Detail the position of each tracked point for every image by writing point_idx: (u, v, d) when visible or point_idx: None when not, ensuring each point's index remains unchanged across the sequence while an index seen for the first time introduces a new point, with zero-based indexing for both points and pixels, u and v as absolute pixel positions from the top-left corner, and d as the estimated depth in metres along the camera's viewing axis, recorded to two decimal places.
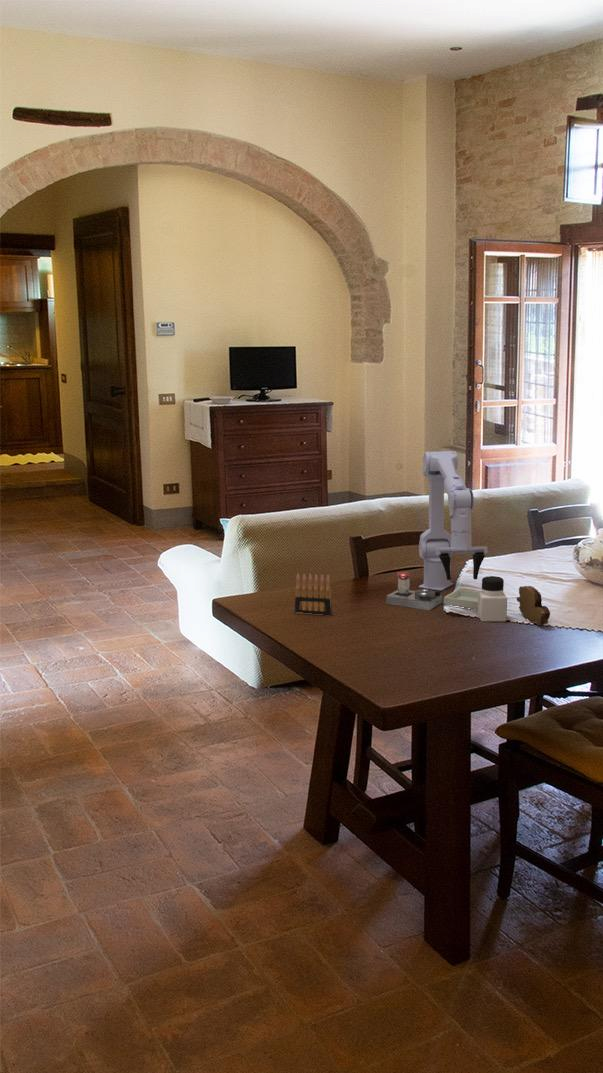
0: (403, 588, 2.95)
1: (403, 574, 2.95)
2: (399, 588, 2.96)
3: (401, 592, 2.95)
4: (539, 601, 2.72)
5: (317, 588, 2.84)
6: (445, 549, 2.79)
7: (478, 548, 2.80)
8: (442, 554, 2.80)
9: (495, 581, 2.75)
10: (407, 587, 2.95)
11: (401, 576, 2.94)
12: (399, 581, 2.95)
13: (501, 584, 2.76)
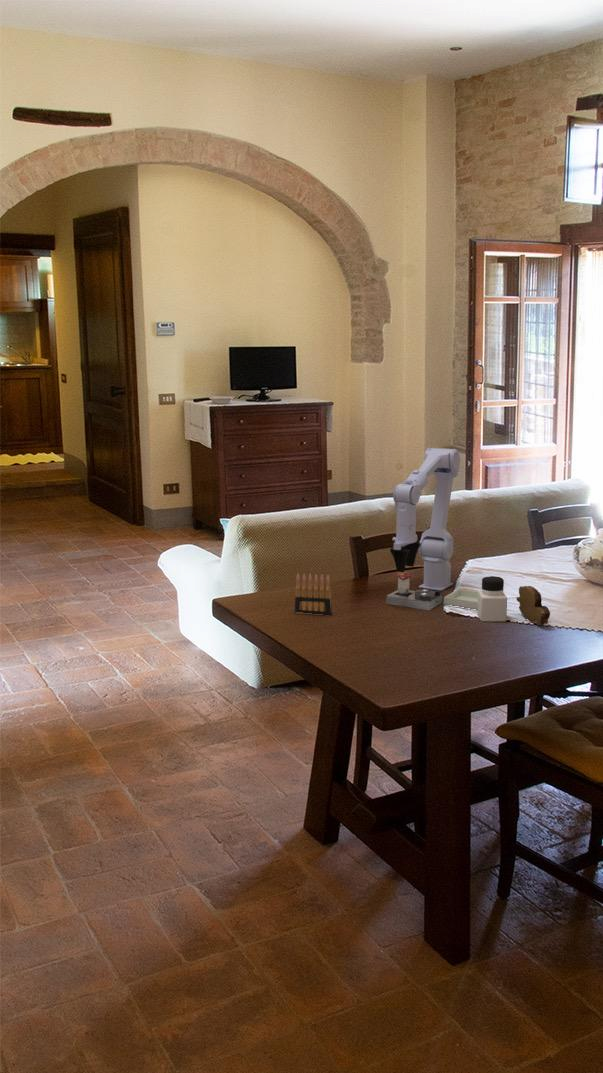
0: (403, 588, 2.95)
1: (403, 574, 2.95)
2: (399, 588, 2.96)
3: (401, 592, 2.95)
4: (539, 601, 2.72)
5: (317, 588, 2.84)
6: None
7: (395, 542, 2.90)
8: None
9: (495, 581, 2.75)
10: (407, 587, 2.95)
11: (401, 576, 2.94)
12: (399, 581, 2.95)
13: (501, 584, 2.76)
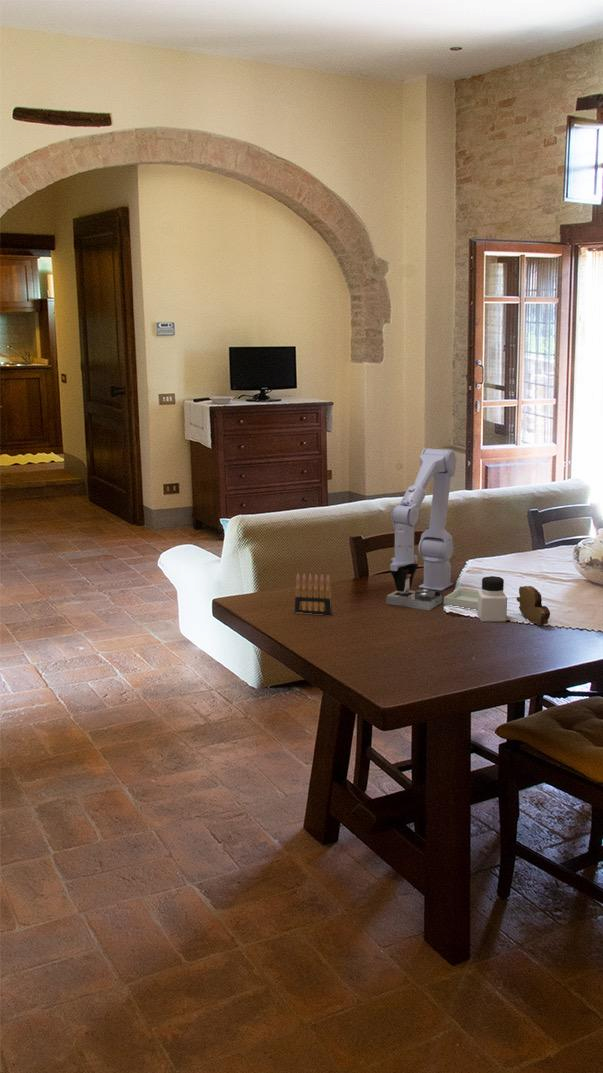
0: None
1: None
2: None
3: (401, 592, 2.95)
4: (539, 601, 2.72)
5: (317, 588, 2.84)
6: None
7: (392, 563, 2.92)
8: None
9: (495, 581, 2.75)
10: (407, 587, 2.95)
11: None
12: None
13: (501, 584, 2.76)
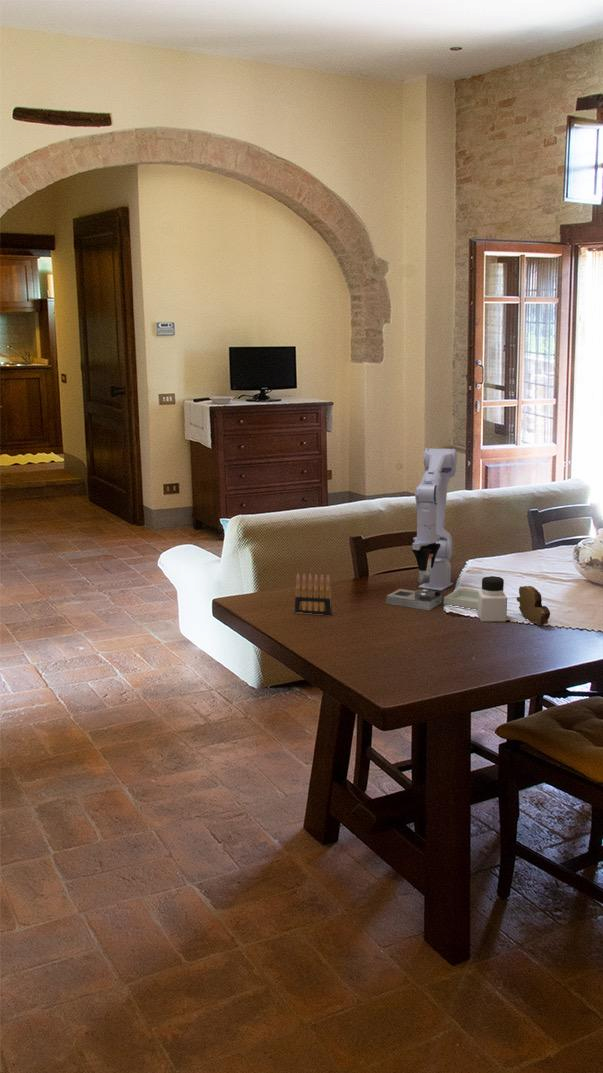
0: None
1: None
2: None
3: (423, 572, 2.93)
4: (539, 601, 2.72)
5: (317, 588, 2.84)
6: None
7: (414, 542, 2.90)
8: None
9: (495, 581, 2.75)
10: (428, 567, 2.93)
11: None
12: None
13: (501, 584, 2.76)
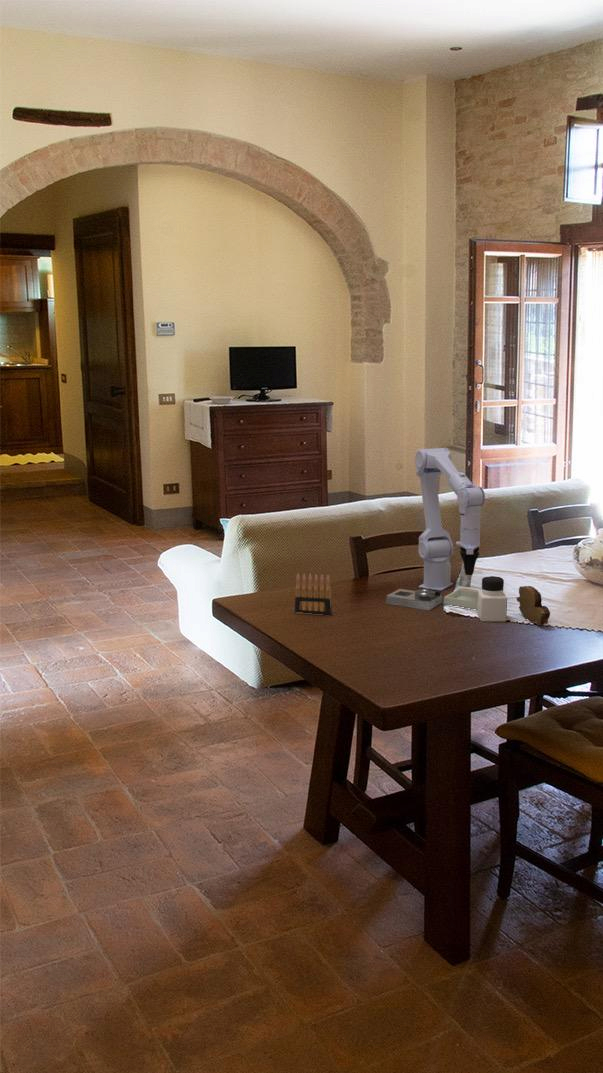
0: None
1: None
2: (464, 572, 2.92)
3: (467, 576, 2.92)
4: (539, 601, 2.72)
5: (317, 588, 2.84)
6: None
7: (464, 546, 2.87)
8: None
9: (495, 581, 2.75)
10: None
11: None
12: None
13: (501, 584, 2.76)
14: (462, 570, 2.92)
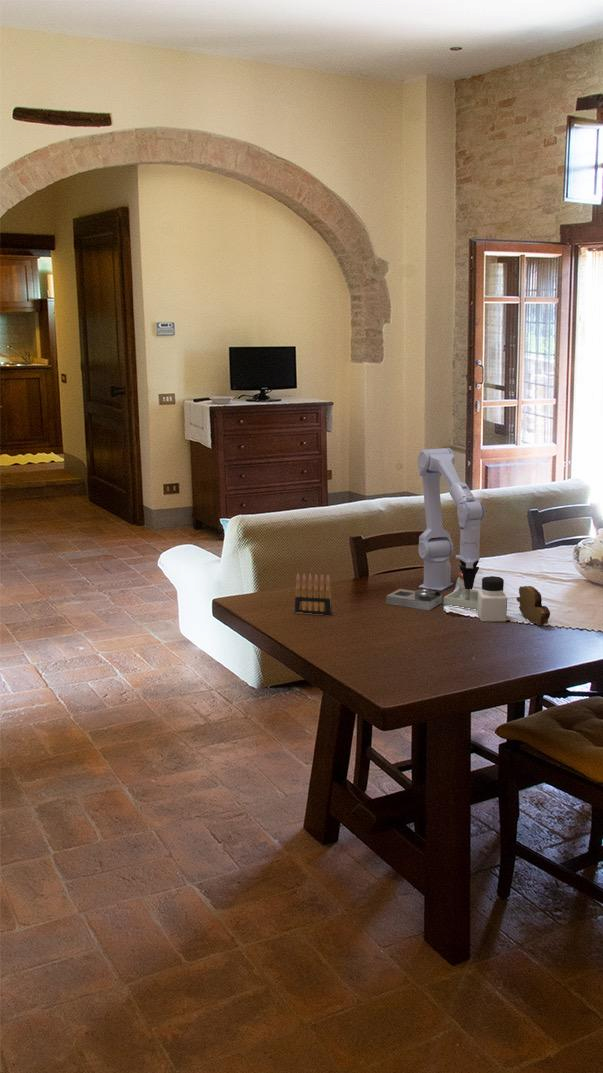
0: None
1: None
2: (462, 588, 2.93)
3: (465, 592, 2.93)
4: (539, 601, 2.72)
5: (317, 588, 2.84)
6: None
7: (463, 560, 2.88)
8: None
9: (495, 581, 2.75)
10: None
11: None
12: (462, 581, 2.92)
13: (501, 584, 2.76)
14: (460, 587, 2.93)
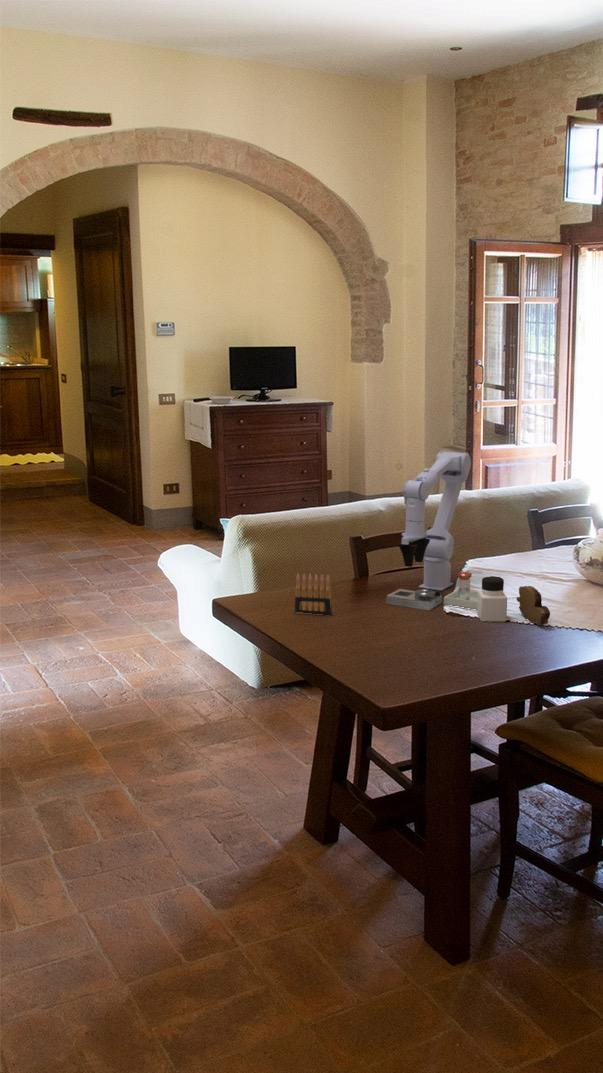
0: (466, 588, 2.92)
1: (465, 574, 2.92)
2: (462, 589, 2.93)
3: (465, 592, 2.93)
4: (539, 601, 2.72)
5: (317, 588, 2.84)
6: None
7: (403, 537, 2.96)
8: None
9: (495, 581, 2.75)
10: (469, 587, 2.93)
11: (465, 576, 2.91)
12: (462, 581, 2.92)
13: (501, 584, 2.76)
14: (459, 587, 2.93)
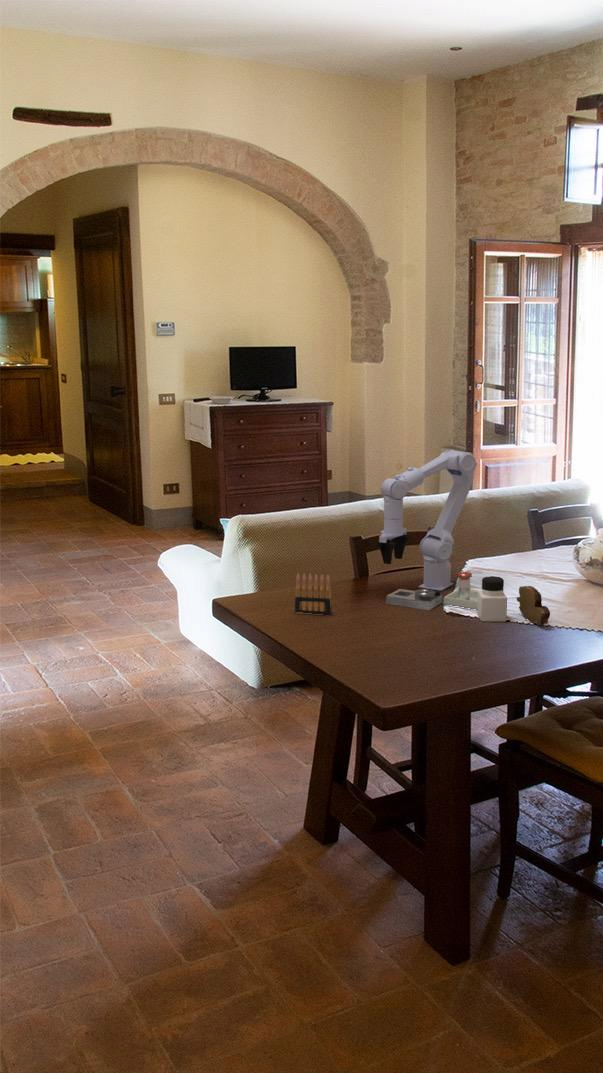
0: (466, 588, 2.92)
1: (465, 574, 2.92)
2: (462, 589, 2.93)
3: (465, 592, 2.93)
4: (539, 601, 2.72)
5: (317, 588, 2.84)
6: None
7: None
8: None
9: (495, 581, 2.75)
10: (469, 587, 2.93)
11: (465, 576, 2.91)
12: (462, 581, 2.92)
13: (501, 584, 2.76)
14: (459, 587, 2.93)
